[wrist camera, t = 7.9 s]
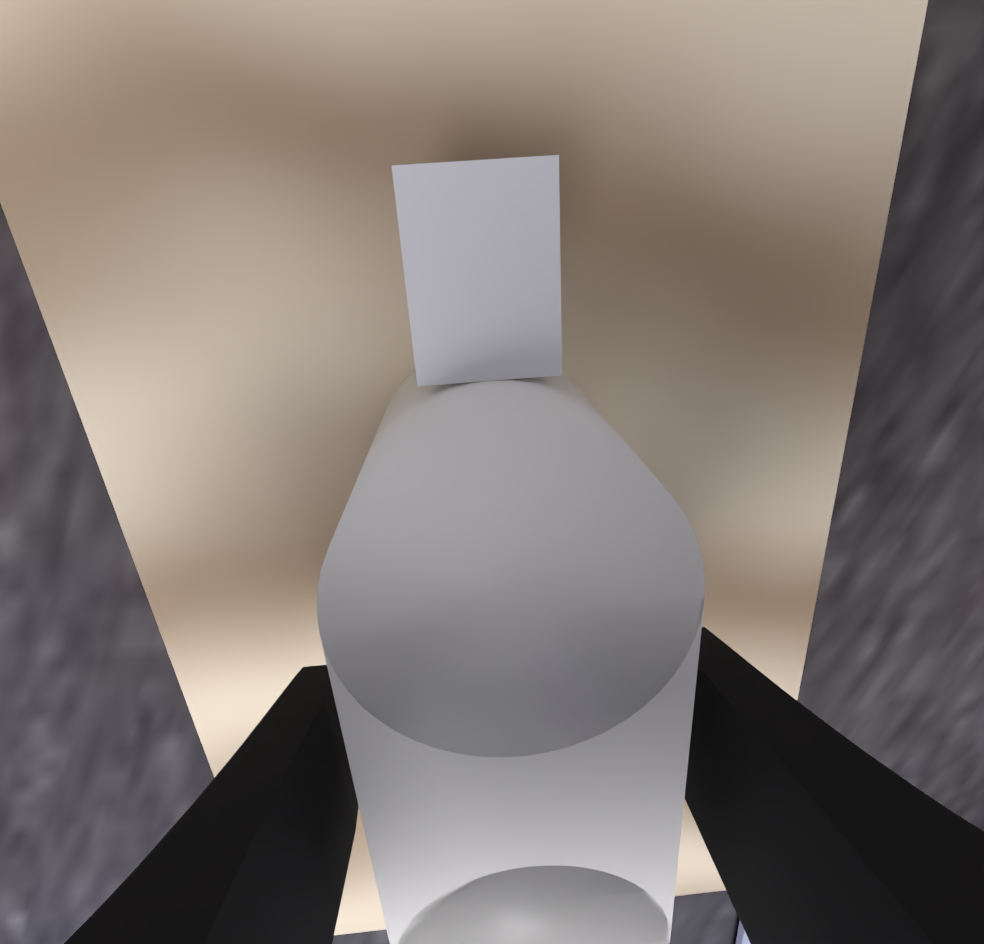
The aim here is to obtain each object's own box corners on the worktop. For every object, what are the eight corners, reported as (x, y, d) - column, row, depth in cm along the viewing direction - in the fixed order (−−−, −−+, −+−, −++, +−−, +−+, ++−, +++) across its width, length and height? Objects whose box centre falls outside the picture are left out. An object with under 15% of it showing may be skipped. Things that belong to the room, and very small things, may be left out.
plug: (591, 750, 13) (662, 1015, 9) (427, 767, 13) (412, 1044, 9) (595, 178, 9) (754, 103, 4) (340, 196, 9) (207, 136, 4)
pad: (745, 851, 17) (762, 886, 16) (286, 902, 16) (275, 942, 15) (899, -93, 8) (952, -134, 8) (-39, -38, 8) (-103, -75, 7)
